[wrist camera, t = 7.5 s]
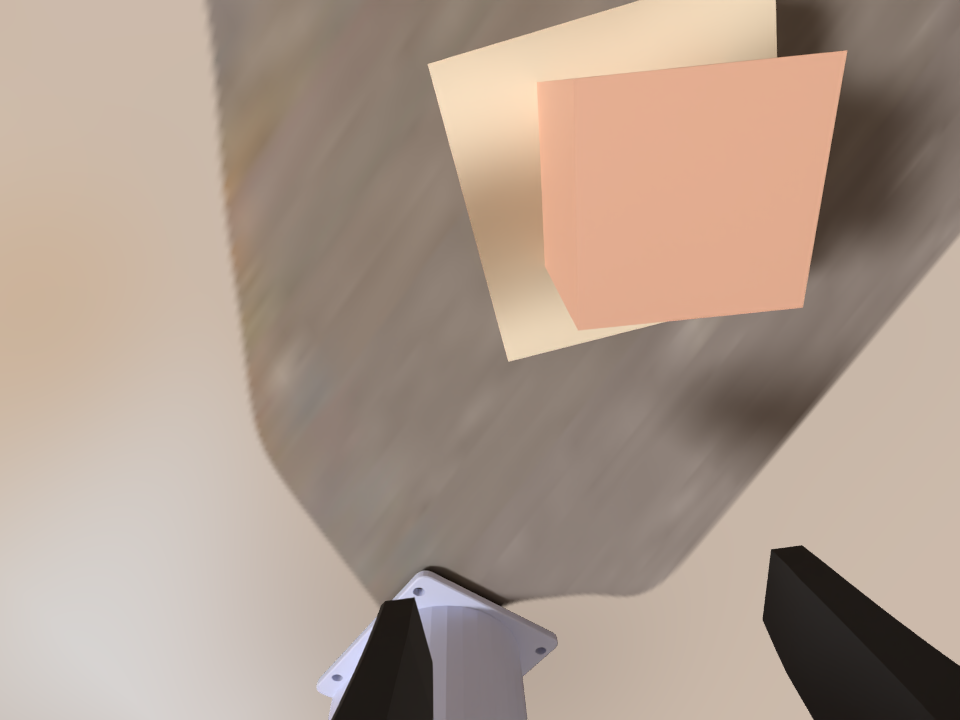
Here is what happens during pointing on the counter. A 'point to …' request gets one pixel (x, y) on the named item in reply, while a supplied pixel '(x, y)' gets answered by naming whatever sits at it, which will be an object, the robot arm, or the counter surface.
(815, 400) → the counter surface
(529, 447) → the counter surface
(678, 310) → the terracotta cube
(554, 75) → the birch block
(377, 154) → the counter surface
